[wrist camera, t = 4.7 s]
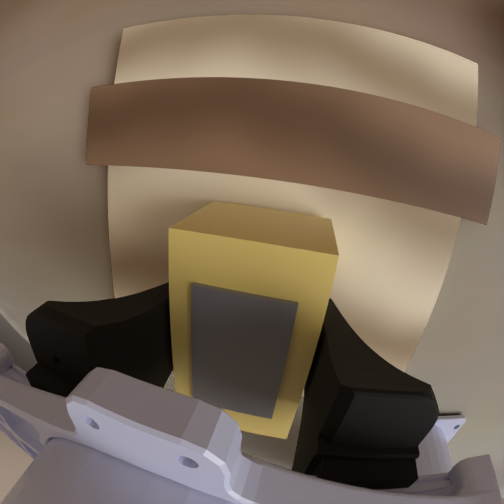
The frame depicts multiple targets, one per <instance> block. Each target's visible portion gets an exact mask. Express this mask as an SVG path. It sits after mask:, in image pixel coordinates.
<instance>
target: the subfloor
mask: <svg viewBox="0 0 504 504" xmlns="http://www.w3.org/2000/svg"><path fill="white" fill-rule="evenodd" d="M477 105H478V64H477V63H475V62H472V61H470V60H468V59H466V58H463V57H461V56H459V55H456V54H454V53H451V52H449V51H446V50H443V49H441V48H438V47H435V46H433V45H430V44H427V43H424V42H421V41H418V40H414V39H411V38H408V37H404V36H401V35H397V34H394V33H390V32H386V31H382V30H378V29H374V28H369V27H364V26H359V25H354V24H349V23H343V22H337V21H330V20H323V19H315V18H306V17H295V16H281V15H217V16H202V17H191V18H182V19H174V20H167V21H161V22H155V23H149V24H143V25H138V26H133V27H129V28H124V29H123V34H122V39H121V44H120V50H119V55H118V62H117V68H116V75H115V82H114V84H111V85H104V86H98V87H92V88H91V97H90V106H89V118H88V132H87V154H86V165H108V223H109V242H110V257H111V268H112V279H113V288H114V296H115V298H119V297H124V296H128V295H132V294H136V293H139V292H142V291H145V290H148V289H151V288H154V287H157V286H160V285H162V284H165V283H167V282H169V227H171V226H173V225H174V224H176V223H178V222H179V221H181V220H183V219H184V218H186V217H188V216H189V215H191V214H193V213H195V212H196V211H198V210H200V209H201V208H203V207H205V206H207V205H208V204H210V203H212V202H214V201H216V202H224V203H231V204H239V205H246V206H253V207H260V208H267V209H273V210H280V211H286V212H293V213H299V214H305V215H311V216H317V217H323V218H329V219H331V220H332V224H333V229H334V233H335V238H336V243H337V248H338V252H339V259H338V263H337V268H336V272H335V277H334V281H333V285H332V289H331V294H330V298H331V299H332V300H333V302H334V303H335V305H336V306H337V308H338V310H339V311H340V313H341V314H342V316H343V317H344V318H345V320H346V321H347V322H348V324H349V325H350V326H351V328H352V329H353V330H354V331H355V332H356V334H357V335H358V336H359V337H360V338H361V339H362V340H363V341H364V342H365V343H366V344H367V345H368V346H369V347H370V348H371V349H372V350H373V351H374V352H376V353H377V354H378V355H379V356H381V357H382V358H383V359H385V360H386V361H387V362H389V363H390V364H392V365H393V366H395V367H396V368H398V369H399V370H401V371H403V372H405V370H406V368H407V366H408V364H409V362H410V360H411V358H412V356H413V354H414V352H415V350H416V347H417V345H418V343H419V341H420V339H421V336H422V334H423V332H424V330H425V327H426V325H427V323H428V320H429V318H430V315H431V313H432V310H433V308H434V305H435V303H436V300H437V297H438V294H439V292H440V289H441V286H442V283H443V280H444V277H445V274H446V271H447V268H448V265H449V262H450V259H451V255H452V252H453V249H454V245H455V241H456V238H457V234H458V230H459V226H460V222H461V218H463V219H467V220H470V221H474V222H477V223H481V224H484V225H487V221H488V217H489V212H490V208H491V203H492V198H493V193H494V188H495V182H496V176H497V170H498V163H499V155H500V146H501V137H499V136H496V135H494V134H492V133H490V132H487V131H485V130H483V129H480V128H478V127H476V122H477ZM301 397H304V390H303V393H302V396H301Z"/></svg>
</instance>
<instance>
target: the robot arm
mask: <svg viewBox="0 0 504 504" xmlns="http://www.w3.org/2000/svg"><path fill="white" fill-rule="evenodd" d="M26 332H27V335H28V339H29V341H30V344H31V347H32V350H33V352H34V355H35V357H36V360H37V362H38V363H37V364H36V365H35V366H34V367H33V368H32V369H30V370H29V371H28V372H25V371H24V370H22V369H21V368H19V367H18V366H17V365H15V364H14V362H13V359H12V356H11V354H10V352H9V350H8V349H7V348H6V347H5V346H4V345H3V344H2V343H0V429H1V430H2V431H3V432H4V433H5V434H6V435H7V436H8V437H9V438H10V439H11V440H12V441H13V442H14V443H15V444H16V445H18V446H19V447H20V448H21V449H22V450H23V451H24V452H25V453H26V454H28V455H29V456H30V457H31V458H32V459H33V460H34V461H33V462H32V463H31V464H30V466H29V467H28V468H27V470H26V471H25V472H24V473H23V475H22V476H21V477H20V478H19V480H18V481H17V482H16V484H15V485H14V487H13V488H12V489H11V490H10V492H9V493H8V494H7V496H6V497H5V498H4V500H3V501H2V502H1V504H503V502H502V497H501V493H500V489H499V485H498V481H497V478H496V474H495V471H494V467H493V464H492V461H491V457H490V455H488V454H487V455H482V456H477V457H471V458H467V459H464V460H462V461H460V462H458V463H457V464H456V465H455V466H454V467H453V465H452V460H451V456H450V452H449V448H448V444H447V443H448V442H449V441H450V439H451V438H452V437H453V436H454V435H455V434H456V432H457V431H458V430H459V429H460V427H461V426H462V425H463V424H464V422H465V421H466V418H465V416H464V415H453V416H439V409H438V405H437V401H436V398H435V395H434V392H433V390H432V387H431V385H429V384H427V383H425V382H423V381H420V380H418V379H416V378H414V377H412V376H410V375H408V374H406V373H405V372H403V371H401V370H399V369H398V368H396V367H395V366H393V365H392V364H390V363H389V362H387V361H386V360H385V359H383V358H382V357H381V356H379V355H378V354H377V353H376V352H374V351H373V350H372V349H371V348H370V347H369V346H368V345H367V344H366V343H365V342H364V341H363V340H362V339H361V338H360V337H359V336H358V335H357V334H356V332H355V331H354V330H353V329H352V328H351V326H350V325H349V324H348V322H347V321H346V320H345V318H344V317H343V316H342V314H341V313H340V311H339V310H338V308H337V306H336V305H335V303H334V302H333V300H332V299H331V298H329V302H328V306H327V310H326V313H325V317H324V321H323V325H322V329H321V332H320V336H319V340H318V343H317V347H316V350H315V354H314V357H313V360H312V364H311V367H310V370H309V374H308V377H307V380H306V383H305V386H304V403H303V412H302V418H301V425H300V431H299V436H298V442H297V447H296V452H295V457H294V462H293V467H292V470H289V469H286V468H283V467H280V466H277V465H274V464H271V463H268V462H265V461H262V460H260V459H257V458H254V457H252V456H249V455H246V454H244V453H241V441H242V434H241V431H240V427H239V424H238V423H237V422H236V421H235V420H234V419H233V418H232V417H231V416H230V415H228V414H227V413H226V412H225V411H224V410H223V409H222V408H220V407H217V406H215V405H212V404H210V403H208V402H206V401H203V400H201V399H197V398H194V397H190V396H187V395H184V394H180V393H177V392H174V391H171V390H168V389H165V388H163V387H164V385H165V383H166V381H167V379H168V377H169V375H170V374H171V372H172V370H173V358H172V343H171V326H170V303H169V282H167V283H165V284H162V285H160V286H157V287H154V288H151V289H148V290H145V291H142V292H139V293H136V294H132V295H128V296H124V297H119V298H114V299H107V300H100V301H89V302H60V301H47V302H45V303H44V304H43V305H41V306H40V307H38V308H37V309H36V310H34V311H33V312H31V313H30V314H29V315H28V316H27V319H26Z"/></svg>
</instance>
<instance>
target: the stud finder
mask: <svg viewBox="0 0 504 504" xmlns="http://www.w3.org/2000/svg"><path fill="white" fill-rule="evenodd" d="M338 259H339V252H338V248H337V243H336V238H335V233H334V229H333V224H332V220H331V219H329V218H323V217H317V216H311V215H305V214H299V213H293V212H286V211H280V210H273V209H267V208H260V207H253V206H246V205H239V204H231V203H224V202H216V201H214V202H212V203H210V204H208V205H207V206H205V207H203V208H201V209H200V210H198V211H196V212H195V213H193V214H191V215H189V216H188V217H186V218H184V219H183V220H181V221H179V222H178V223H176V224H174V225H173V226H171V227H169V303H170V326H171V343H172V358H173V370H174V382H175V392H177V393H180V394H184V395H187V396H190V397H194V398H197V399H201V400H203V401H206V402H208V403H210V404H212V405H215V406H217V407H220V408H222V409H223V410H224V411H225V412H226V413H227V414H228V415H230V416H231V417H232V418H233V419H234V420H235V421H236V422H237V423H238V424H239V427H240V430H241V431H245V432H250V433H255V434H260V435H265V436H270V437H276V438H282V439H287V436H288V433H289V431H290V428H291V425H292V422H293V419H294V417H295V414H296V411H297V408H298V405H299V402H300V399H301V396H302V393H303V390H304V386H305V383H306V380H307V377H308V374H309V370H310V367H311V364H312V360H313V357H314V354H315V350H316V347H317V343H318V340H319V336H320V332H321V329H322V325H323V321H324V317H325V313H326V310H327V306H328V302H329V298H330V294H331V289H332V285H333V281H334V277H335V272H336V268H337V263H338Z"/></svg>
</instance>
